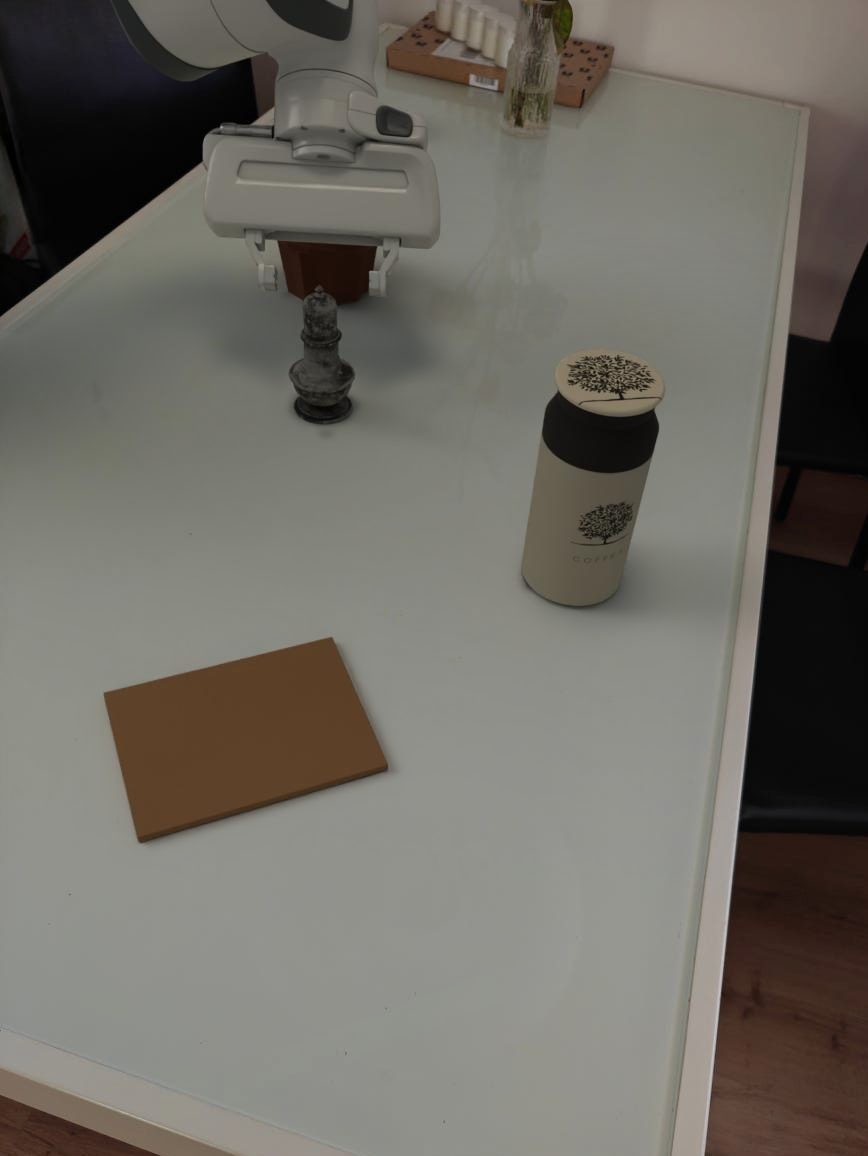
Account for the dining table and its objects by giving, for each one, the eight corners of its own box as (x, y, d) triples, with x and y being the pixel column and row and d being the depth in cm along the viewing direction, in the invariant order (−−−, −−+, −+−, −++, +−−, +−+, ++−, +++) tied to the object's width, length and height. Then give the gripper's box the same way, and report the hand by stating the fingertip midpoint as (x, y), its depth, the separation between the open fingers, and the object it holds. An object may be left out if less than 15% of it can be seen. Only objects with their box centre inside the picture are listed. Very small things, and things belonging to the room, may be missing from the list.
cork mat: (138, 843, 62) (137, 837, 62) (104, 698, 69) (103, 692, 69) (388, 769, 67) (388, 764, 67) (332, 641, 75) (332, 636, 74)
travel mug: (516, 538, 84) (544, 343, 71) (611, 540, 85) (657, 347, 71) (525, 608, 78) (558, 411, 65) (627, 609, 79) (680, 415, 66)
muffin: (401, 278, 111) (404, 185, 104) (350, 323, 104) (349, 227, 96) (306, 248, 114) (302, 155, 106) (250, 290, 106) (242, 194, 99)
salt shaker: (278, 401, 94) (269, 278, 85) (331, 381, 97) (328, 261, 88) (314, 433, 91) (309, 310, 82) (368, 412, 94) (368, 291, 85)
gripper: (196, 104, 85) (193, 274, 85) (444, 121, 86) (440, 287, 87) (209, 137, 91) (207, 296, 91) (440, 153, 93) (436, 308, 93)
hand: (322, 292), depth 89 cm, fingers open, 8 cm apart
